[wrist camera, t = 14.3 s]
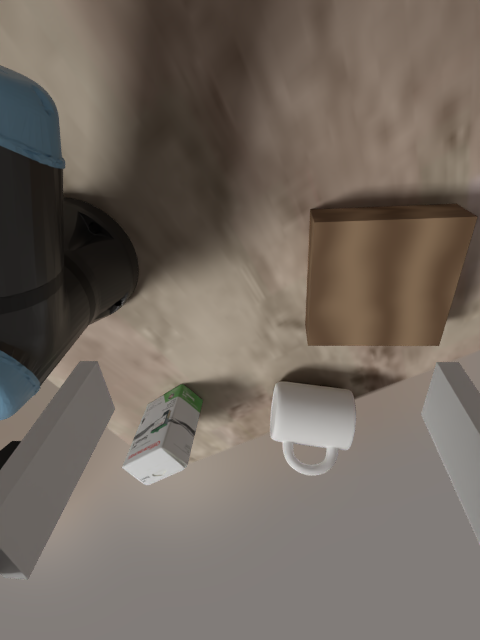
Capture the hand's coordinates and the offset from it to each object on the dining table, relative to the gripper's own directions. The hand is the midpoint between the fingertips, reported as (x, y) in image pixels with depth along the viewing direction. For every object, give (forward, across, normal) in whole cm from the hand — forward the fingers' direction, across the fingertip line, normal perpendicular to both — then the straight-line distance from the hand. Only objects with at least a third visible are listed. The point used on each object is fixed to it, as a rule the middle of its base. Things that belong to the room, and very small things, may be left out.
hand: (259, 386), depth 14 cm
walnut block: (+29, +12, -9) cm, 33 cm away
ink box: (+29, -16, -31) cm, 45 cm away
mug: (+23, 0, -28) cm, 37 cm away
